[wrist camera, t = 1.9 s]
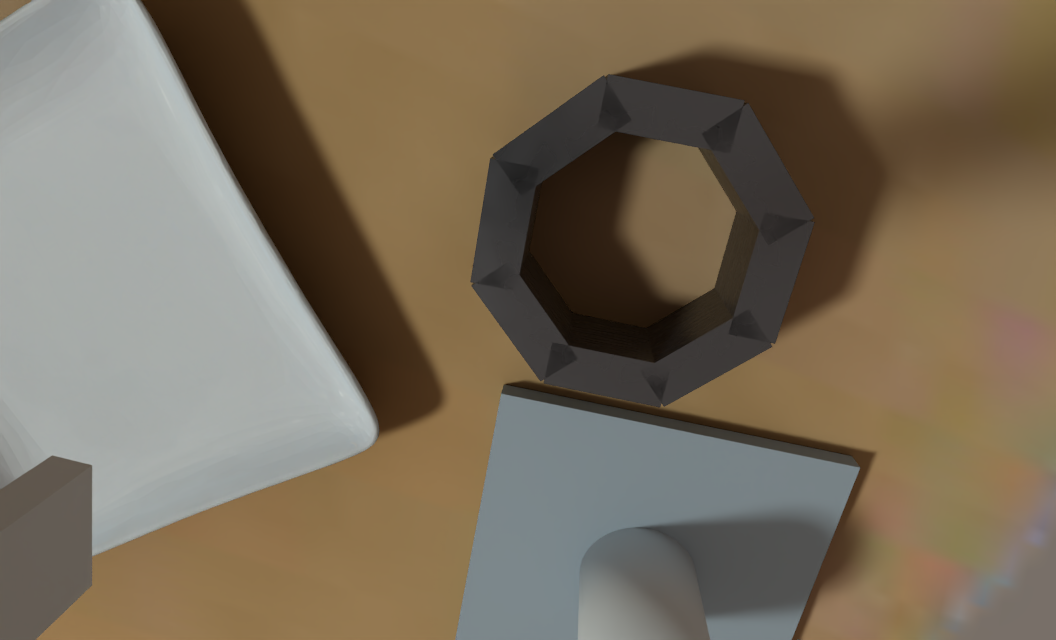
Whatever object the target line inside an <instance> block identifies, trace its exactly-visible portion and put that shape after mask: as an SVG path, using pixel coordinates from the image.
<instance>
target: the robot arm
mask: <svg viewBox="0 0 1056 640" xmlns="http://www.w3.org/2000/svg"><path fill="white" fill-rule="evenodd" d="M91 586H92V465H89V464H85V463H81V462H77V461H73V460H69V459H65V458H61V457H57V456H53V455H52V456H50V457H49V458H47V459H46V460H44V461H43V462H41V463H40V464H38V465H37V466H35V467H34V468H32V469H31V470H29V471H28V472H26V473H25V474H23V475H22V476H20V477H18V478H17V479H15V480H14V481H12V482H11V483H9V484H8V485H6V486H5V487H3V488H2V489H0V640H36V639H37V638H38V637H39V636H40V635H41V634H42V633H43V632H44V631H45V630H46V629H47V628H48V627H49V626H50V625H51V624H52V623H53V622H54V621H55V620H56V619H57V618H58V617H59V616H61V615H62V614H63V613H64V612H65V611H66V610H67V609H68V608H69V607H70V606H71V605H72V604H73V603H74V602H75V601H76V600H77V599H78V598H79V597H80V596H81V595H82V594H83V593H84V592H85V591H86V590H87V589H89V588H90V587H91ZM797 640H799V639H797Z"/></svg>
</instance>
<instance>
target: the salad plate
mask: <svg viewBox="0 0 1056 640" xmlns="http://www.w3.org/2000/svg"><path fill="white" fill-rule="evenodd" d="M378 435H379V424H378V419H377V417H376V414H375V412H374V410H373V408H372V406H371V404H370V402H369V400H368V398H367V396H366V395H365V393H364V391H363V389H362V387H361V385H360V384H359V382H358V380H357V379H356V377H355V375H354V374H353V372H352V371H351V369H350V367H349V366H348V364H347V362H346V361H345V359H344V358H343V356H342V355H341V353H340V352H339V350H338V348H337V347H336V345H335V344H334V342H333V340H332V339H331V337H330V336H329V334H328V332H327V331H326V329H325V328H324V326H323V325H322V323H321V321H320V320H319V318H318V317H317V315H316V313H315V312H314V310H313V309H312V307H311V305H310V304H309V302H308V300H307V299H306V297H305V295H304V294H303V292H302V290H301V289H300V287H299V286H298V284H297V282H296V281H295V279H294V277H293V275H292V274H291V272H290V270H289V269H288V267H287V265H286V263H285V262H284V260H283V258H282V257H281V255H280V253H279V252H278V250H277V248H276V246H275V245H274V243H273V241H272V240H271V238H270V236H269V235H268V233H267V231H266V229H265V228H264V226H263V224H262V223H261V221H260V219H259V217H258V216H257V214H256V212H255V210H254V209H253V207H252V205H251V203H250V202H249V200H248V198H247V196H246V195H245V193H244V191H243V189H242V188H241V186H240V184H239V182H238V181H237V179H236V177H235V175H234V173H233V171H232V170H231V168H230V166H229V164H228V162H227V160H226V158H225V157H224V155H223V153H222V151H221V149H220V147H219V146H218V144H217V142H216V140H215V138H214V136H213V134H212V133H211V131H210V129H209V127H208V125H207V123H206V121H205V119H204V117H203V115H202V113H201V111H200V109H199V107H198V105H197V103H196V101H195V99H194V97H193V95H192V93H191V91H190V89H189V87H188V85H187V83H186V82H185V80H184V78H183V76H182V74H181V72H180V70H179V68H178V66H177V64H176V62H175V60H174V58H173V56H172V54H171V52H170V50H169V48H168V46H167V44H166V42H165V40H164V38H163V36H162V35H161V33H160V31H159V29H158V27H157V25H156V23H155V22H154V20H153V18H152V17H151V15H150V14H149V12H148V11H147V9H146V7H145V6H144V4H143V3H142V1H141V0H32V1H31V2H30V3H28V4H26V5H24V6H23V7H21V8H20V9H18V10H17V11H15V12H14V13H12V14H11V15H9V16H7V17H6V18H4V19H3V20H1V21H0V489H2V488H3V487H5V486H6V485H8V484H9V483H11V482H12V481H14V480H15V479H17V478H18V477H20V476H22V475H23V474H25V473H26V472H28V471H29V470H31V469H32V468H34V467H35V466H37V465H38V464H40V463H41V462H43V461H44V460H46V459H47V458H49V457H50V456H52V455H53V456H57V457H61V458H65V459H69V460H73V461H77V462H81V463H85V464H89V465H92V556H95V555H97V554H100V553H102V552H105V551H107V550H109V549H112V548H114V547H117V546H119V545H121V544H124V543H126V542H129V541H131V540H134V539H136V538H138V537H141V536H143V535H145V534H148V533H150V532H152V531H155V530H158V529H160V528H162V527H165V526H167V525H169V524H172V523H174V522H177V521H179V520H182V519H184V518H187V517H189V516H192V515H194V514H197V513H199V512H202V511H204V510H207V509H210V508H212V507H215V506H218V505H220V504H223V503H226V502H229V501H231V500H234V499H237V498H240V497H243V496H245V495H248V494H250V493H253V492H256V491H258V490H261V489H264V488H267V487H270V486H273V485H276V484H279V483H281V482H284V481H287V480H290V479H292V478H295V477H298V476H301V475H303V474H306V473H309V472H312V471H315V470H318V469H320V468H323V467H326V466H329V465H332V464H335V463H337V462H340V461H342V460H344V459H347V458H349V457H352V456H354V455H356V454H359V453H361V452H363V451H364V450H366V449H368V448H369V447H371V446H372V445H373V444H374V443H375V442H376V440H377V438H378Z"/></svg>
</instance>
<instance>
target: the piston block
mask: <svg viewBox="0 0 1056 640" xmlns="http://www.w3.org/2000/svg"><path fill="white" fill-rule="evenodd" d="M859 470H860V467H859V465H858V464H857V463H856V461H855V460H854V458H853V457H852V456H849V455H844V454H839V453H834V452H829V451H825V450H820V449H815V448H810V447H805V446H800V445H795V444H791V443H786V442H781V441H776V440H771V439H766V438H761V437H757V436H752V435H747V434H742V433H737V432H732V431H727V430H723V429H718V428H713V427H708V426H703V425H698V424H694V423H689V422H684V421H679V420H674V419H669V418H664V417H660V416H655V415H650V414H645V413H640V412H635V411H630V410H626V409H621V408H616V407H611V406H606V405H601V404H596V403H592V402H587V401H582V400H577V399H572V398H567V397H563V396H558V395H553V394H548V393H543V392H538V391H533V390H529V389H524V388H519V387H514V386H509V385H504V386H503V390H502V393H501V398H500V403H499V409H498V414H497V419H496V425H495V430H494V435H493V441H492V446H491V451H490V457H489V462H488V468H487V473H486V478H485V484H484V489H483V494H482V500H481V505H480V510H479V516H478V521H477V527H476V532H475V537H474V543H473V548H472V553H471V559H470V564H469V569H468V575H467V580H466V586H465V591H464V596H463V602H462V607H461V612H460V618H459V623H458V628H457V634H456V639H455V640H792V638H793V635H794V633H795V630H796V628H797V625H798V623H799V620H800V618H801V615H802V613H803V610H804V608H805V605H806V603H807V600H808V598H809V595H810V593H811V590H812V587H813V585H814V582H815V580H816V577H817V575H818V572H819V570H820V567H821V565H822V562H823V560H824V557H825V555H826V552H827V550H828V547H829V545H830V542H831V540H832V537H833V535H834V532H835V530H836V527H837V525H838V522H839V520H840V517H841V515H842V512H843V510H844V507H845V505H846V502H847V500H848V497H849V495H850V492H851V490H852V487H853V485H854V482H855V480H856V477H857V475H858V472H859Z"/></svg>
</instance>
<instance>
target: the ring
mask: <svg viewBox="0 0 1056 640" xmlns="http://www.w3.org/2000/svg"><path fill="white" fill-rule="evenodd" d="M744 101H745V100H740V99H735V98H729V97H724V96H719V95H714V94H709V93H703V92H698V91H693V90H688V89H683V88H677V87H672V86H667V85H662V84H657V83H651V82H646V81H641V80H636V79H631V78H625V77H620V76H615V75H610V74H608V75H607V76H606V78H605V76H604V75H603V76H602V77H601V78H599V79H598V80H596V81H595V82H594V83H592V84H591V85H589V86H588V87H587V88H585V89H584V90H582V91H581V92H580V93H578V94H577V95H575V96H574V97H573V98H571V99H570V100H568V101H567V102H566V103H564V104H563V105H561V106H560V107H559V108H557V109H556V110H554V111H553V112H552V113H550V114H549V115H547V116H546V117H545V118H543V119H542V120H540V121H539V122H538V123H536V124H535V125H533V126H532V127H531V128H529V129H528V130H526V131H525V132H524V133H522V134H521V135H519V136H518V137H517V138H515V139H514V140H512V141H511V142H510V143H508V144H507V145H505V146H504V147H503V148H501V149H500V150H498V151H497V152H496V153H494V154H493V157H492V158H490V163H489V170H488V176H487V182H486V188H485V195H484V201H483V207H482V213H481V220H480V226H479V232H478V238H477V245H476V251H475V257H474V263H473V270H472V276H471V282H473V284H472V287H473V289H474V290H475V291H476V293H477V294H478V296H479V297H480V298H481V300H482V301H483V303H484V304H485V305H486V307H487V308H488V309H489V311H490V312H491V314H492V315H493V316H494V318H495V319H496V321H497V322H498V323H499V325H500V326H501V327H502V329H503V330H504V332H505V333H506V334H507V336H508V337H509V338H510V340H511V341H512V343H513V344H514V345H515V347H516V348H517V350H518V351H519V352H520V354H521V355H522V356H523V358H524V359H525V361H526V362H527V363H528V365H529V366H530V368H531V369H532V370H533V372H534V373H535V374H536V376H537V377H538V379H539V380H540V381H542V380H544V384H549V385H554V386H559V387H564V388H569V389H573V390H578V391H583V392H588V393H593V394H598V395H603V396H607V397H612V398H617V399H622V400H627V401H632V402H637V403H641V404H646V405H651V406H656V407H660V406H661V403H662V404H663V406H666V405H668V404H670V403H672V402H674V401H675V400H677V399H679V398H681V397H683V396H684V395H686V394H688V393H690V392H692V391H693V390H695V389H697V388H699V387H701V386H702V385H704V384H706V383H708V382H710V381H711V380H713V379H715V378H717V377H719V376H720V375H722V374H724V373H726V372H728V371H729V370H731V369H733V368H735V367H737V366H738V365H740V364H742V363H744V362H746V361H747V360H749V359H751V358H753V357H755V356H756V355H758V354H760V353H762V352H764V351H766V350H767V349H769V348H771V347H772V346H771V344H770V343H774V344H775V342H776V339H777V336H778V333H779V330H780V327H781V324H782V320H783V317H784V314H785V311H786V308H787V305H788V302H789V299H790V296H791V293H792V290H793V287H794V284H795V281H796V278H797V275H798V272H799V269H800V265H801V262H802V259H803V256H804V253H805V250H806V247H807V244H808V241H809V238H810V235H811V232H812V229H813V226H814V223H815V222H813V221H812V219H813V218H814V217H813V215H812V213H811V211H810V210H809V208H808V206H807V204H806V203H805V201H804V199H803V197H802V196H801V194H800V192H799V190H798V189H797V187H796V185H795V184H794V182H793V180H792V178H791V177H790V175H789V173H788V171H787V170H786V168H785V166H784V164H783V163H782V161H781V159H780V157H779V156H778V154H777V152H776V150H775V149H774V147H773V145H772V143H771V142H770V140H769V138H768V137H767V135H766V133H765V131H764V130H763V128H762V126H761V124H760V123H759V121H758V119H757V117H756V116H755V114H754V112H753V110H752V109H751V107H750V105H749V103H744ZM615 131H616V132H621V133H626V134H632V135H637V136H642V137H647V138H652V139H657V140H662V141H668V142H673V143H678V144H683V145H688V146H693V147H698V148H699V150H700V151H701V153H702V155H703V156H704V158H705V160H706V161H707V163H708V165H709V166H710V168H711V170H712V171H713V173H714V175H715V176H716V178H717V180H718V181H719V183H720V185H721V186H722V188H723V190H724V191H725V193H726V195H727V196H728V198H729V200H730V201H731V203H732V205H733V206H734V208H735V210H736V211H737V212H736V215H735V219H734V222H733V226H732V229H731V232H730V236H729V239H728V243H727V246H726V250H725V253H724V257H723V260H722V264H721V267H720V271H719V274H718V278H717V281H716V285H715V288H714V289H712V290H711V291H709V292H707V293H706V294H704V295H702V296H700V297H699V298H697V299H695V300H694V301H692V302H690V303H689V304H687V305H685V306H684V307H682V308H680V309H679V310H677V311H675V312H673V313H672V314H670V315H668V316H667V317H665V318H663V319H662V320H660V321H658V322H657V323H655V324H653V325H652V326H650V327H648V328H643V327H638V326H633V325H628V324H623V323H618V322H613V321H608V320H603V319H598V318H593V317H589V316H584V315H579V314H574V313H572V312H571V311H570V309H569V308H568V307H567V305H566V304H565V302H564V301H563V299H562V298H561V296H560V295H559V294H558V292H557V291H556V289H555V288H554V286H553V285H552V283H551V282H550V281H549V279H548V278H547V276H546V275H545V273H544V272H543V270H542V269H541V268H540V266H539V265H538V263H537V262H536V260H535V259H534V257H533V256H532V255H531V253H530V252H529V249H530V243H531V238H532V233H533V227H534V222H535V217H536V211H537V206H538V200H539V195H540V190H541V184H542V182H543V181H544V180H545V179H547V178H548V177H550V176H551V175H553V174H554V173H556V172H557V171H559V170H560V169H561V168H563V167H564V166H566V165H567V164H569V163H570V162H572V161H573V160H575V159H576V158H577V157H579V156H580V155H582V154H583V153H585V152H586V151H588V150H589V149H591V148H592V147H594V146H595V145H596V144H598V143H599V142H601V141H602V140H604V139H605V138H607V137H608V136H610V135H611V134H612V133H614V132H615Z"/></svg>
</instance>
